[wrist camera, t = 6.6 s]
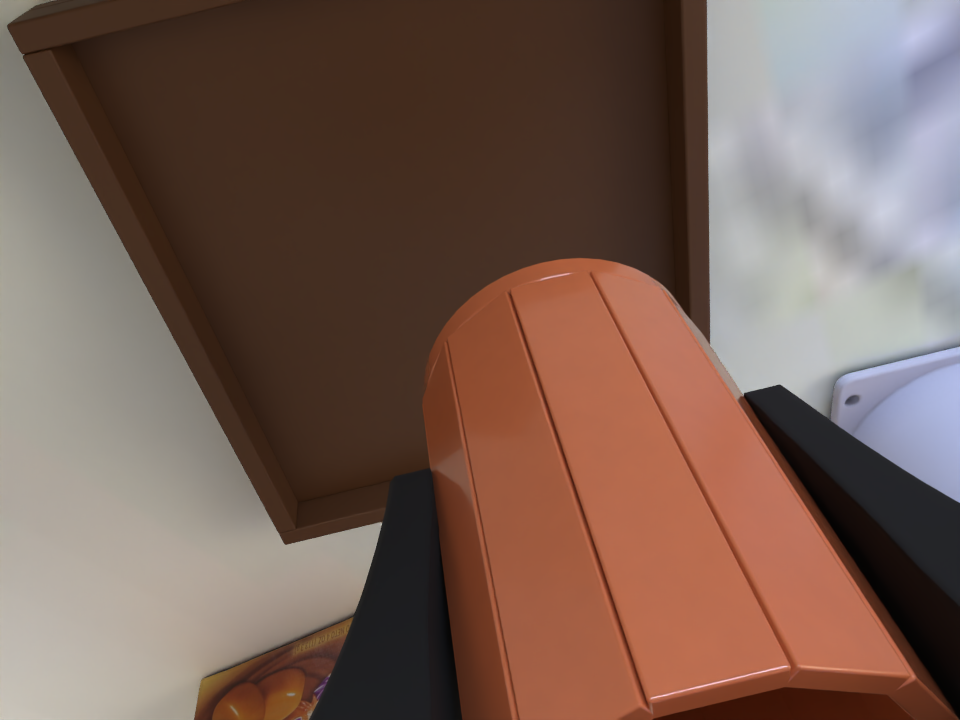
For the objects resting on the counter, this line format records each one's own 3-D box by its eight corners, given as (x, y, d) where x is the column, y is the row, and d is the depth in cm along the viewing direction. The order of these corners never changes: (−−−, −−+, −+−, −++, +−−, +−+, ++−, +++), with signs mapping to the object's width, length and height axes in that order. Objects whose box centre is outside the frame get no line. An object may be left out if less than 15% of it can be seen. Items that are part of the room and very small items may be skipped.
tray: (691, 407, 26) (711, 442, 25) (287, 505, 26) (284, 545, 25) (675, -150, 17) (706, -144, 15) (33, 5, 17) (4, 24, 15)
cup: (693, 442, 17) (913, 848, 10) (454, 499, 17) (523, 941, 10) (689, 225, 13) (1004, 617, 7) (392, 296, 13) (435, 753, 7)
